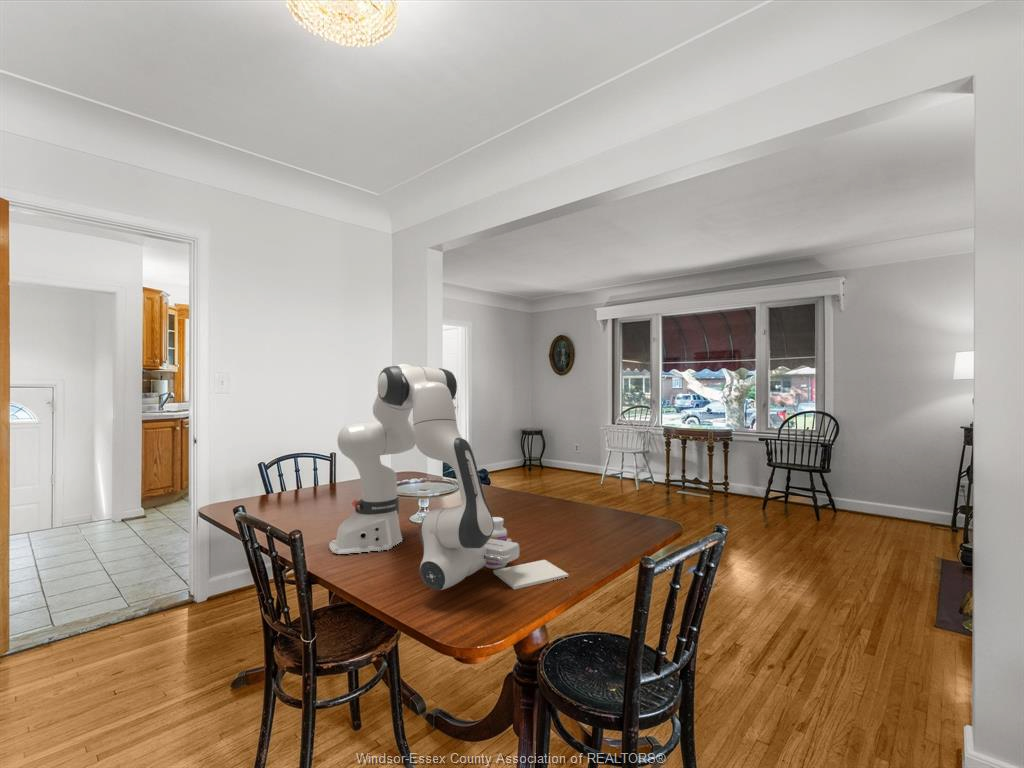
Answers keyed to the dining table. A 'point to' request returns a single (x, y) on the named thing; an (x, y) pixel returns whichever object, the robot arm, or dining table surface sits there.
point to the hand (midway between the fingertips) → (496, 539)
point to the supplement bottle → (498, 534)
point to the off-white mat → (530, 574)
